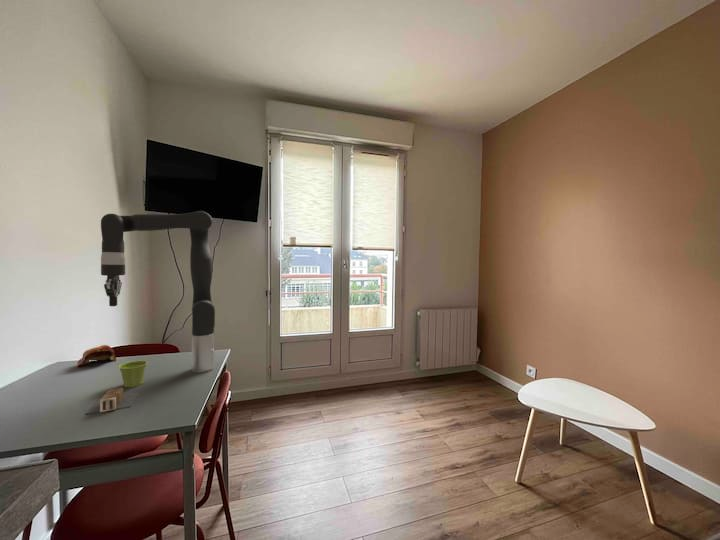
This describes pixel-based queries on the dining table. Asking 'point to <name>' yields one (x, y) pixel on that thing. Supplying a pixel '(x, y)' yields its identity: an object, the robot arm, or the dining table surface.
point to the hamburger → (97, 354)
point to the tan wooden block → (111, 399)
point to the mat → (125, 403)
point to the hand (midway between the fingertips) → (113, 305)
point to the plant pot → (133, 373)
